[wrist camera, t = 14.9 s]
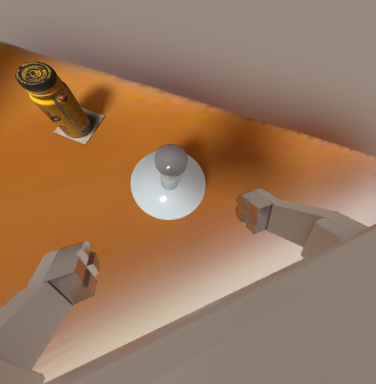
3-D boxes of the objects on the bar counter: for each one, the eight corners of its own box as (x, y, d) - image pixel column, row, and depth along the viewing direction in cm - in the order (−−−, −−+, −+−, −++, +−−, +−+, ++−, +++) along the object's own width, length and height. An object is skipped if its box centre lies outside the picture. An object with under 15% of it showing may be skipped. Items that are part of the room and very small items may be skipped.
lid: (142, 230, 26) (130, 227, 17) (124, 160, 29) (104, 124, 20) (214, 206, 29) (238, 192, 20) (190, 145, 32) (201, 108, 23)
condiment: (53, 132, 33) (-5, 78, 22) (75, 105, 36) (34, 44, 24) (85, 145, 33) (44, 97, 22) (105, 117, 36) (77, 61, 25)
